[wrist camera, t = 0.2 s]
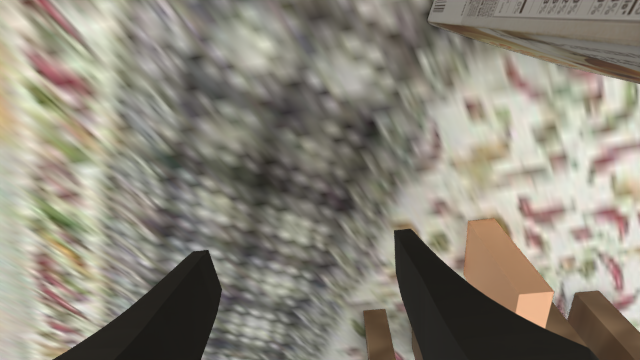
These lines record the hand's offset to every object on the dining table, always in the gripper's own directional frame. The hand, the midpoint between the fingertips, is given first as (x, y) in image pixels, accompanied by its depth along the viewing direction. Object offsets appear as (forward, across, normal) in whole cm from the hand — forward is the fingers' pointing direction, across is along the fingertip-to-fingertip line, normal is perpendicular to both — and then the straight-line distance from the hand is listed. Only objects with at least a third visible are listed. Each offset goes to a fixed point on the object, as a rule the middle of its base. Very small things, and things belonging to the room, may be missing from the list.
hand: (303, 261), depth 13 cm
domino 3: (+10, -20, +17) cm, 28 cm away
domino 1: (+10, -3, +17) cm, 20 cm away
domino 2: (+10, -11, +9) cm, 17 cm away
